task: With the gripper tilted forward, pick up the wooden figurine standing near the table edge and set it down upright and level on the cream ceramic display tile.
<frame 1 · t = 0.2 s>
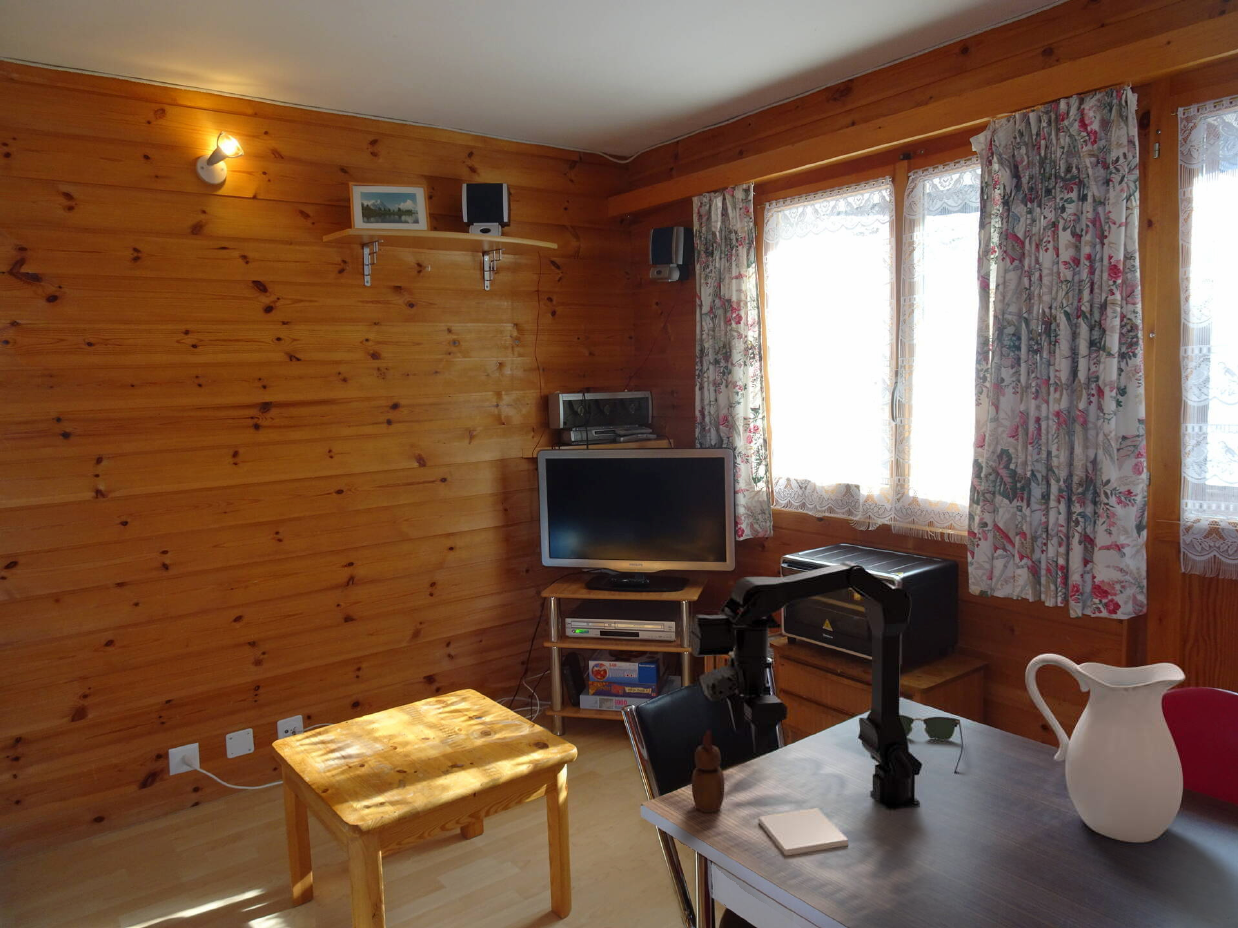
hand: (747, 741, 150), 14 cm above the table, tool pointing down, fingers open, 9 cm apart
wooden figurine: (708, 808, 156), on the table
sunglasses: (922, 755, 176), on the table
display tile: (802, 833, 146), on the table
pitcher: (1097, 820, 149), on the table
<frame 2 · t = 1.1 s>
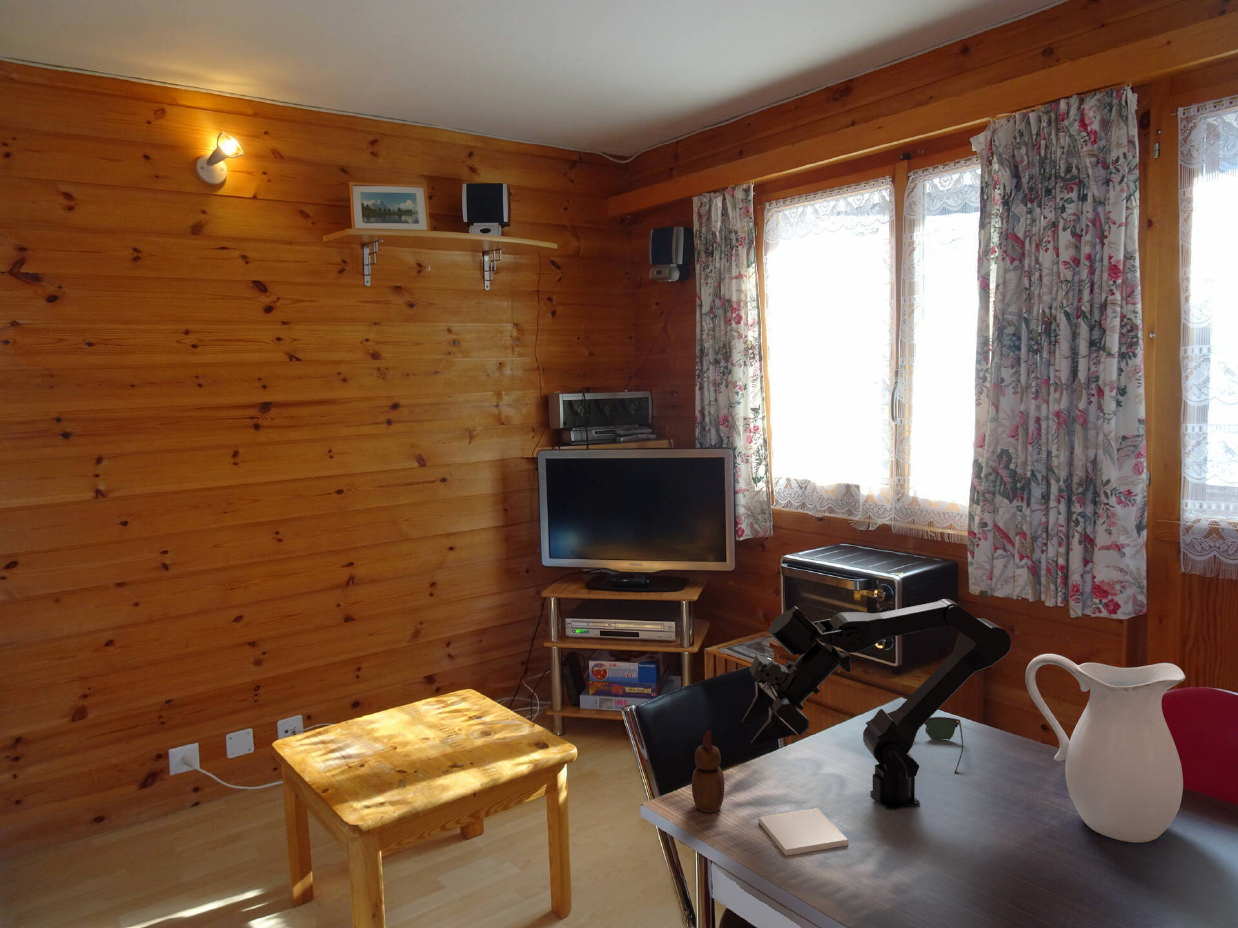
hand: (748, 733, 155), 13 cm above the table, tool tilted 45°, fingers open, 9 cm apart
nothing on the table moved.
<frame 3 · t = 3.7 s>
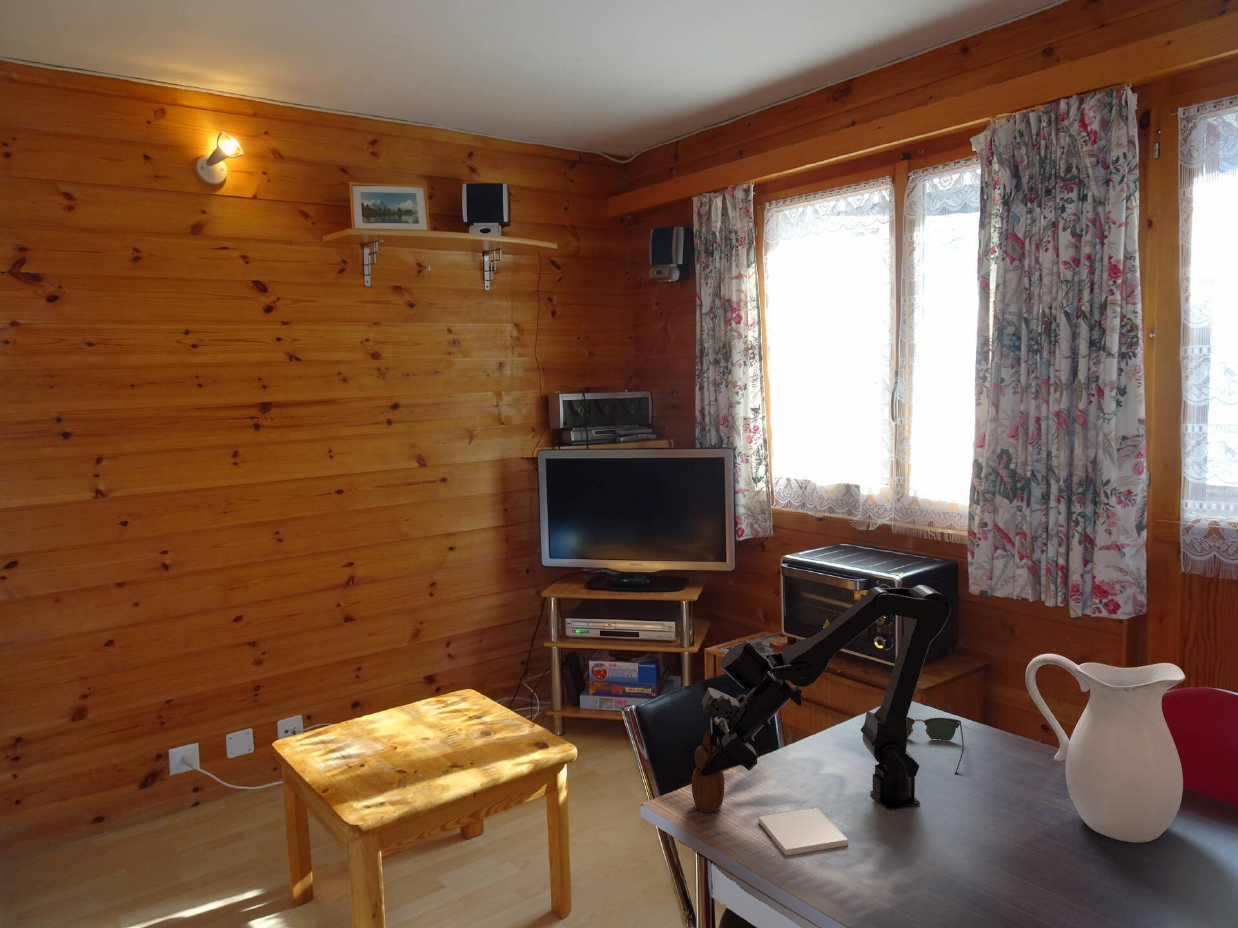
hand: (700, 766, 155), 8 cm above the table, tool tilted 45°, fingers closed on wooden figurine, 5 cm apart
wooden figurine: (708, 808, 156), on the table, touching gripper
everything else where it was.
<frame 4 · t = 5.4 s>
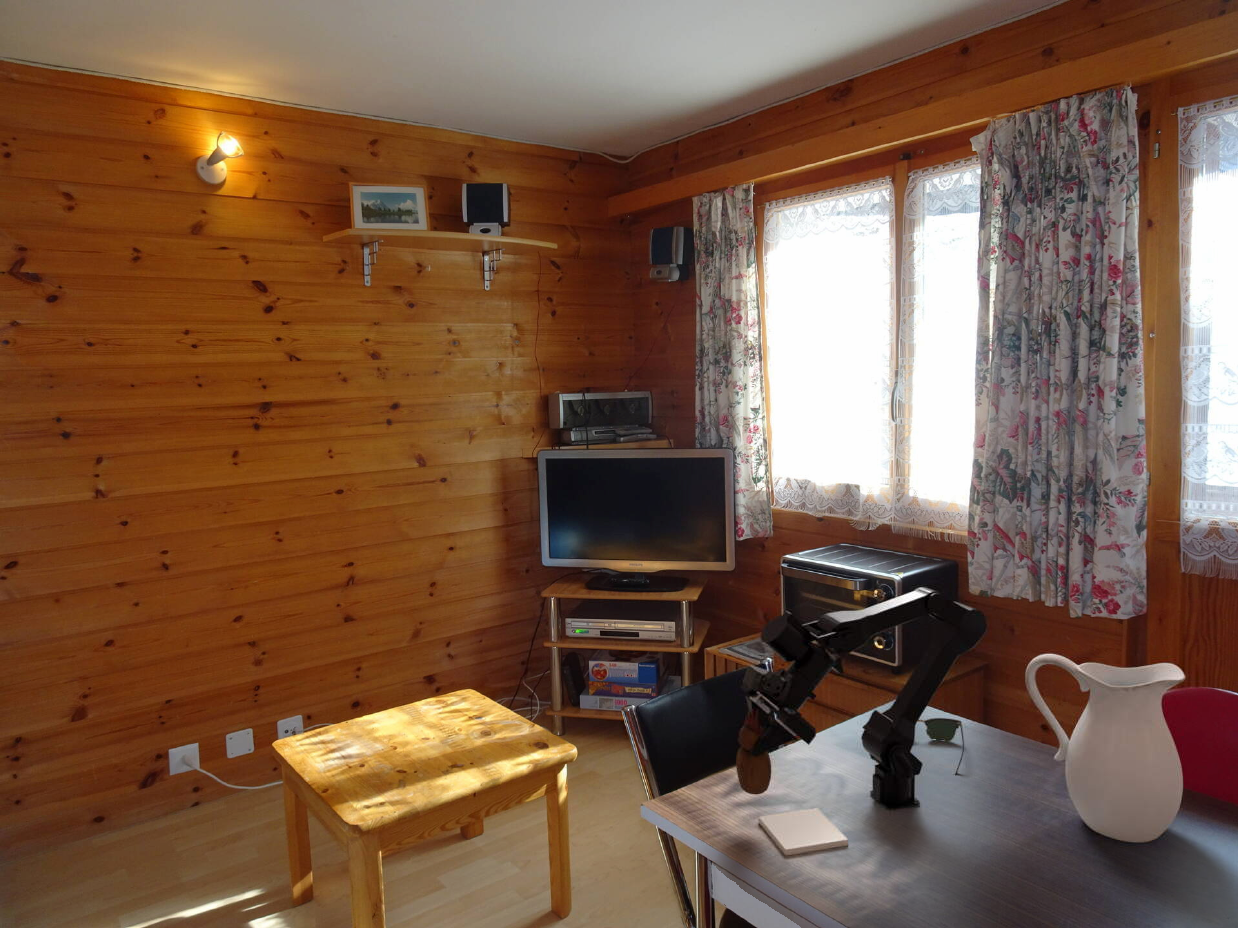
hand: (745, 748, 148), 14 cm above the table, tool tilted 45°, fingers closed on wooden figurine, 5 cm apart
wooden figurine: (754, 790, 150), point 6 cm above the table, touching gripper
everything else where it was.
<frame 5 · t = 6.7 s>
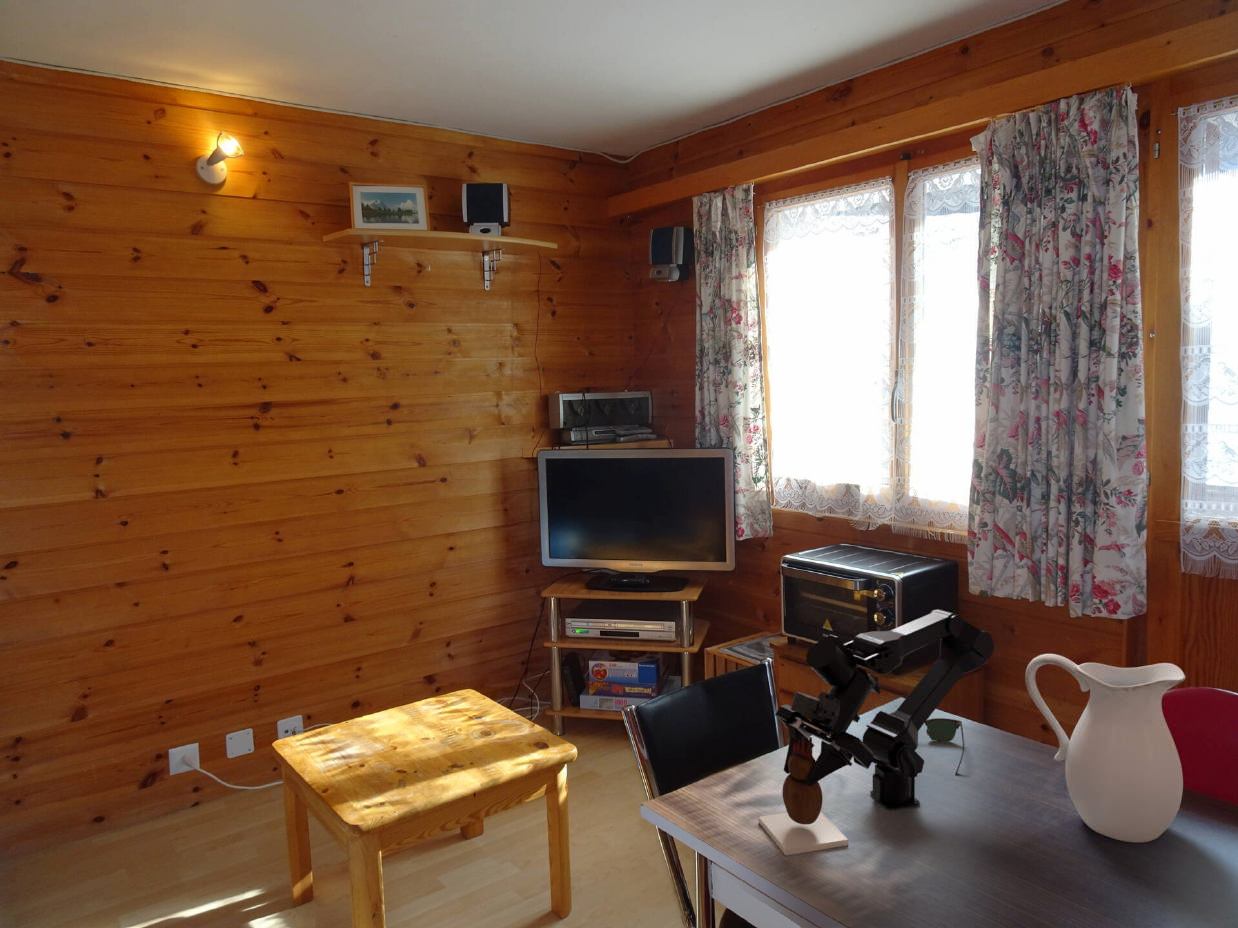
hand: (796, 778, 145), 10 cm above the table, tool tilted 45°, fingers closed on wooden figurine, 5 cm apart
wooden figurine: (802, 820, 146), point 2 cm above the table, touching gripper
everything else where it was.
when the fingers open (9 cm above the table, at t = 7.6 s): wooden figurine stays where it is, resting on display tile.
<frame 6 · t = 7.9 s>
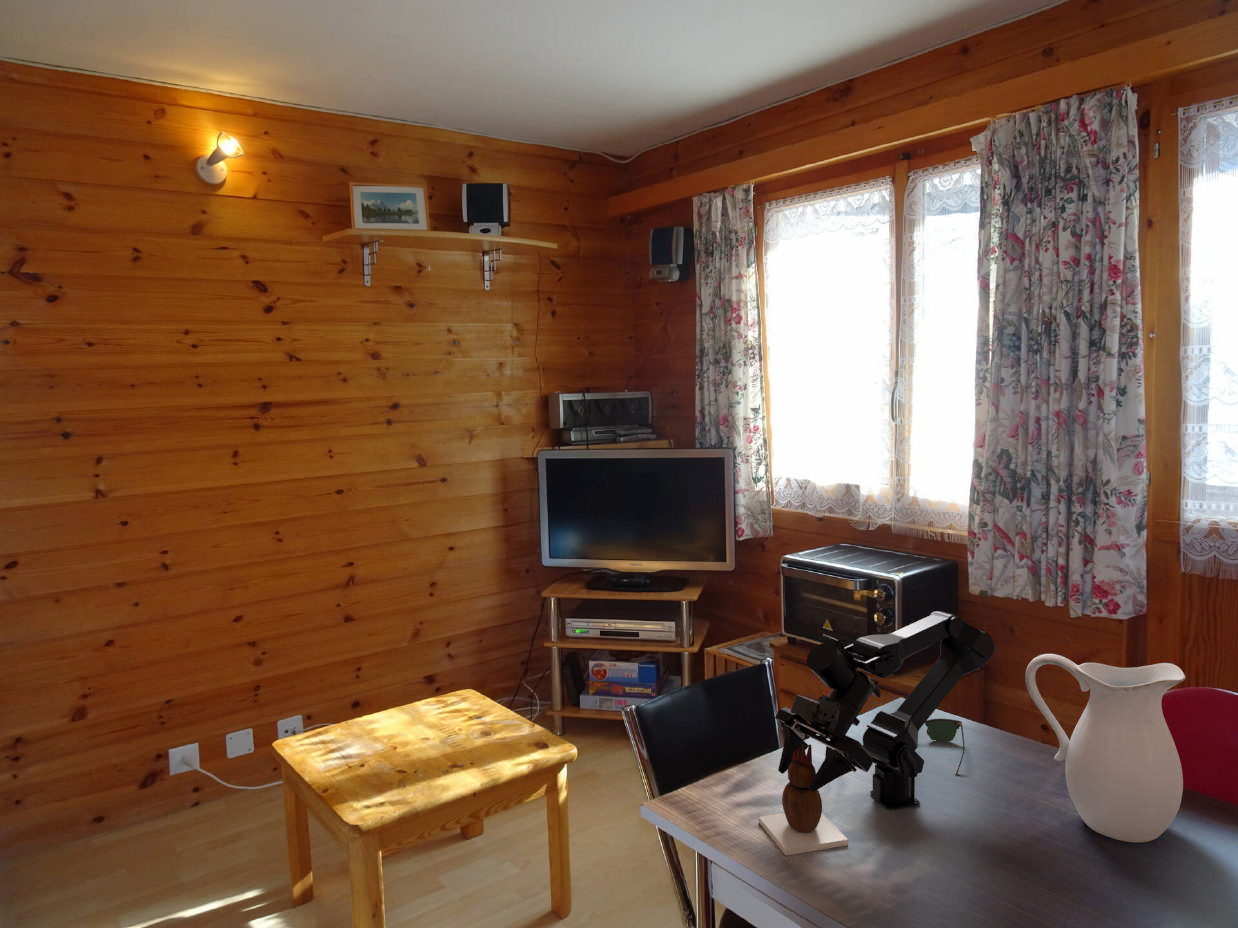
hand: (795, 780, 145), 10 cm above the table, tool tilted 45°, fingers open, 7 cm apart
wooden figurine: (802, 828, 147), point 1 cm above the table, touching display tile
everything else where it was.
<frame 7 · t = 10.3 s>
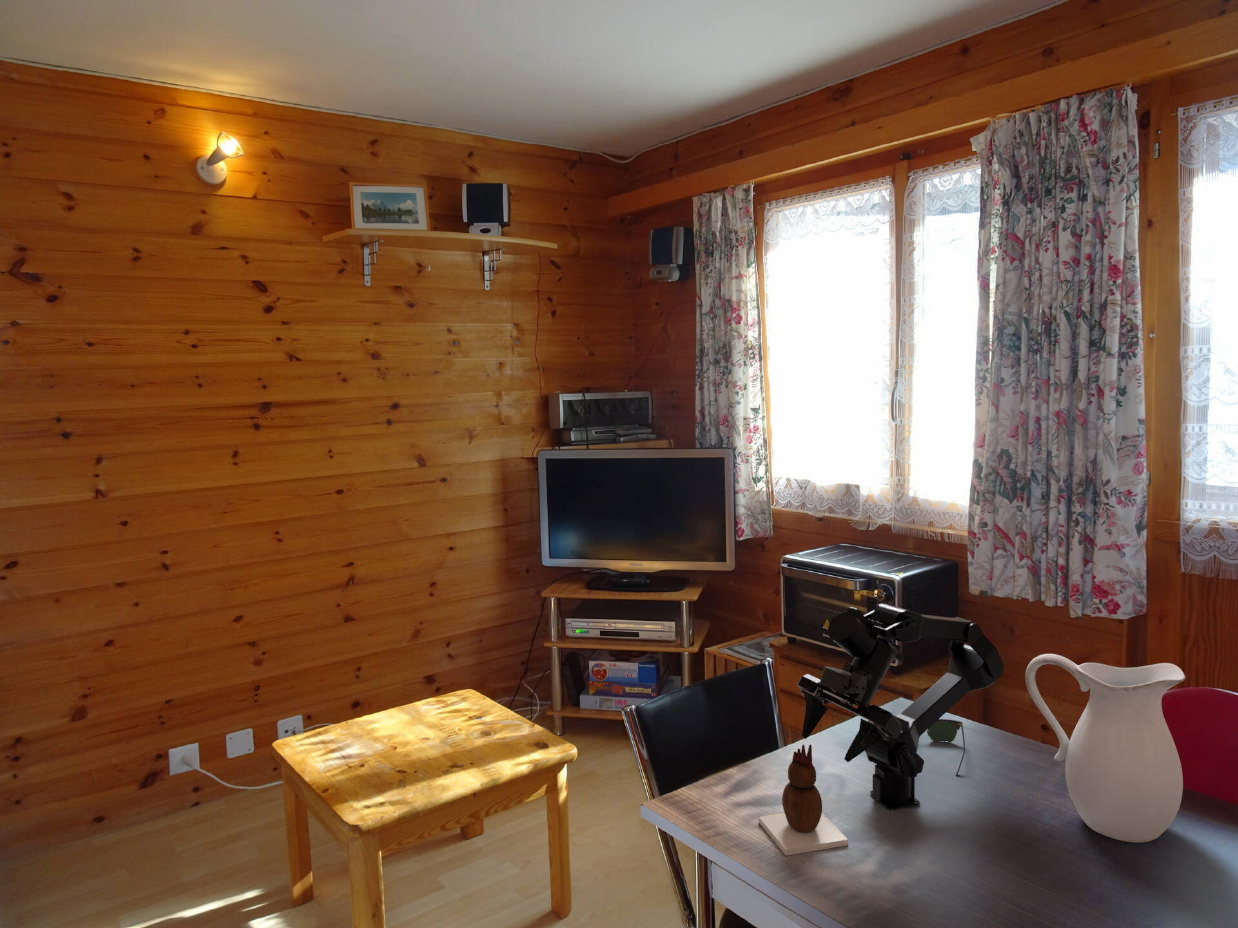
hand: (824, 748, 148), 13 cm above the table, tool tilted 40°, fingers open, 9 cm apart
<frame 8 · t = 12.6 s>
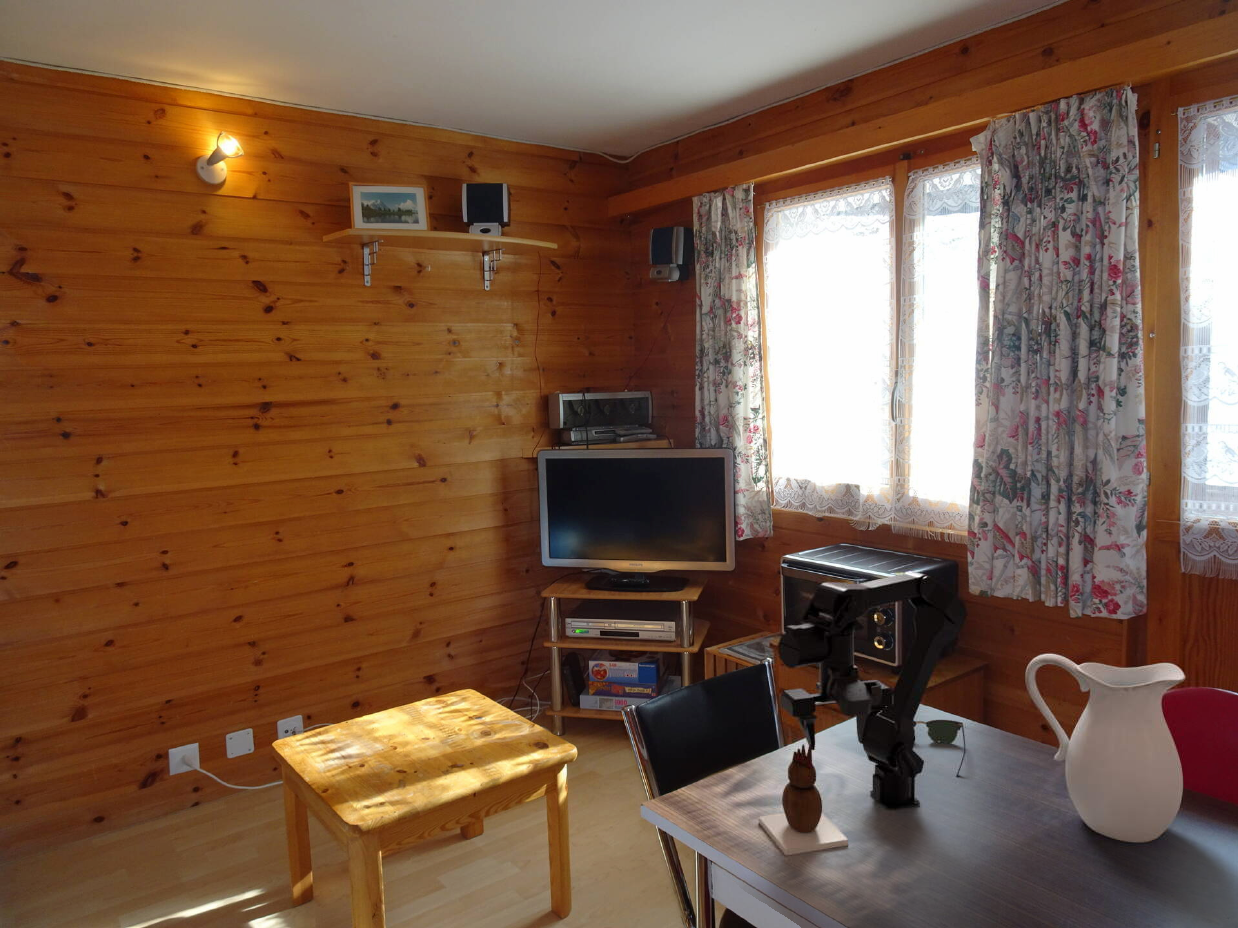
hand: (836, 745, 150), 13 cm above the table, tool pointing down, fingers open, 9 cm apart
at the end: wooden figurine 0.2 cm off-centre on the display tile, point 0.8 cm above the display tile's base; wooden figurine tilted 0°; the gripper is holding nothing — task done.
